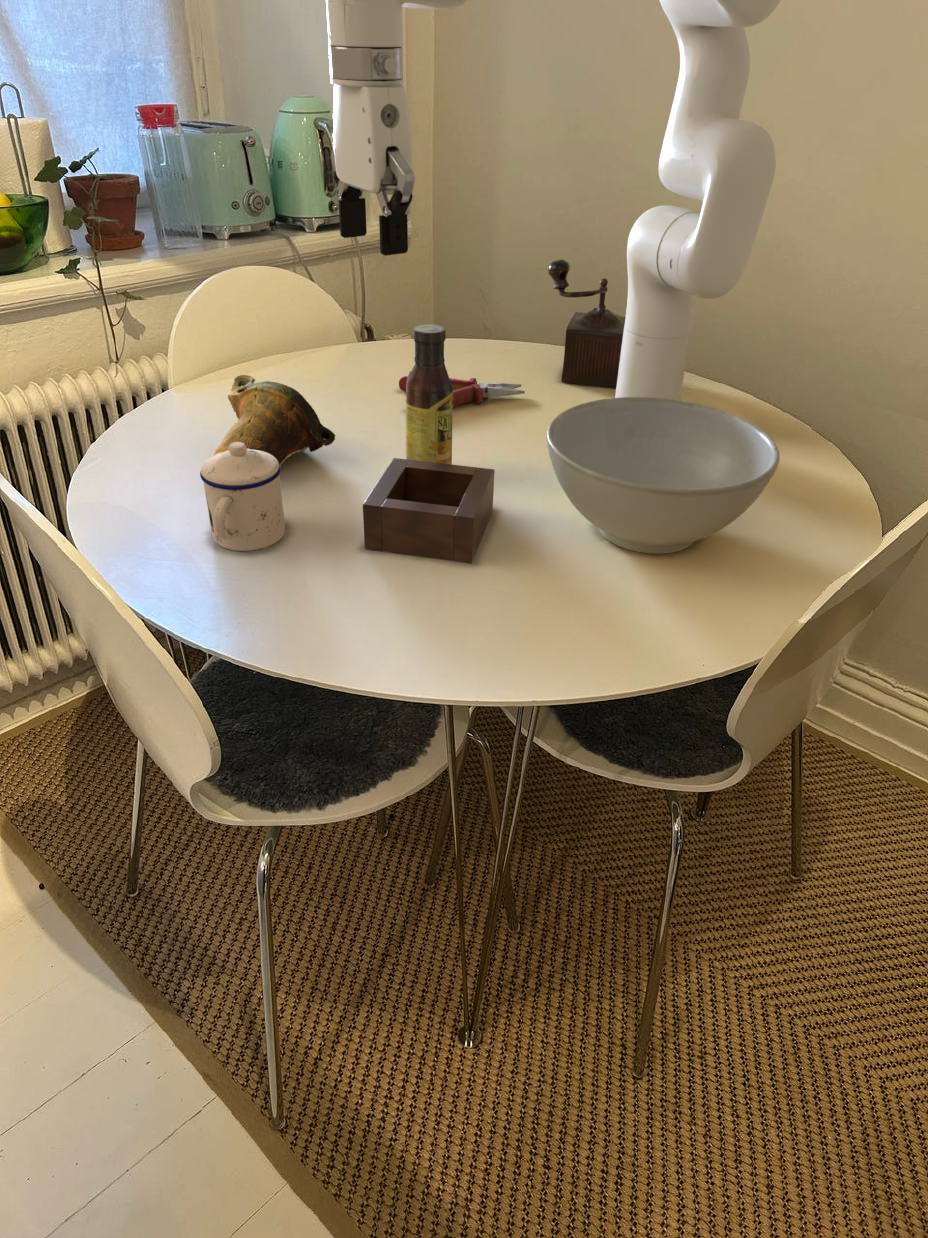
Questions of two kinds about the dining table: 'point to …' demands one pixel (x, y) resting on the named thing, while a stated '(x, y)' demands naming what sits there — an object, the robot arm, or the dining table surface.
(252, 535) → the teacup with lid
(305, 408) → the pot
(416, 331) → the sauce bottle
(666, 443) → the decorative bowl
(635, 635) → the dining table surface
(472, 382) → the pliers
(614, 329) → the manual coffee grinder
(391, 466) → the holder
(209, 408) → the dining table surface
